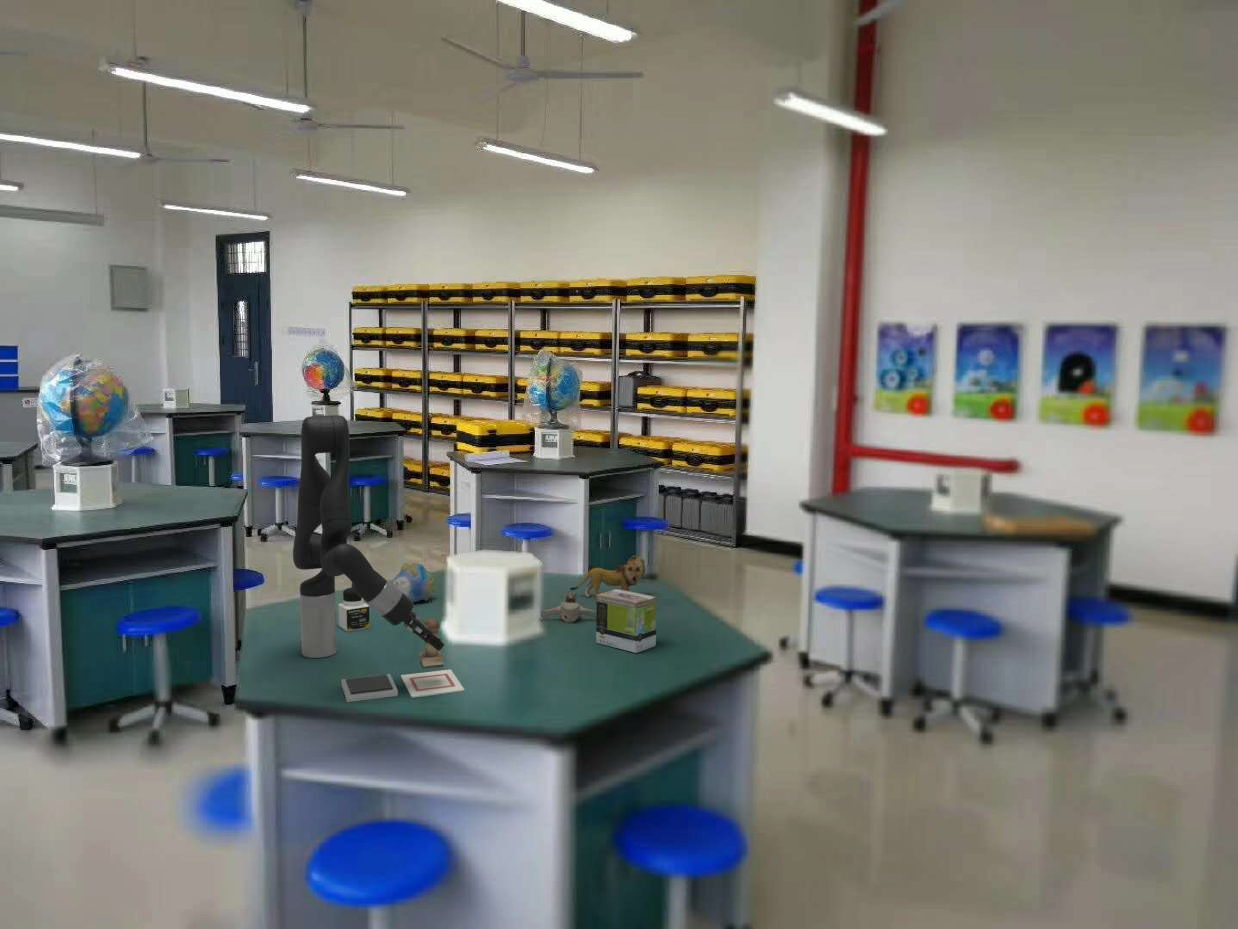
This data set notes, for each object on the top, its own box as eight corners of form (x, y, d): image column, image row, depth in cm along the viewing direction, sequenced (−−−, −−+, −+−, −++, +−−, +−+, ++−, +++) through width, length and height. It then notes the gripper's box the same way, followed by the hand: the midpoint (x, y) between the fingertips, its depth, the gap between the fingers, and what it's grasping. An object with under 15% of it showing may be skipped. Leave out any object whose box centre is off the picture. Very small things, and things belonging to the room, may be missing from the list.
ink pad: (341, 685, 242) (341, 678, 241) (390, 680, 246) (389, 672, 246) (347, 702, 231) (346, 694, 230) (397, 696, 235) (397, 688, 235)
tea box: (657, 646, 277) (658, 596, 275) (635, 654, 269) (636, 603, 267) (616, 635, 286) (617, 587, 284) (594, 643, 278) (595, 593, 276)
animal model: (642, 603, 322) (643, 559, 320) (567, 598, 327) (567, 555, 325) (646, 596, 331) (647, 553, 330) (573, 592, 336) (573, 550, 334)
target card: (401, 676, 249) (400, 675, 249) (450, 671, 253) (450, 669, 253) (411, 697, 234) (411, 695, 234) (464, 691, 239) (464, 689, 239)
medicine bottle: (347, 632, 287) (346, 592, 285) (338, 626, 292) (337, 587, 291) (370, 628, 291) (369, 589, 289) (361, 622, 296) (360, 584, 295)
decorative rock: (396, 561, 313) (439, 559, 320) (384, 566, 326) (425, 564, 333) (398, 603, 311) (441, 599, 318) (386, 606, 324) (428, 603, 331)
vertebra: (602, 607, 310) (602, 583, 305) (603, 629, 301) (603, 604, 296) (539, 608, 309) (538, 583, 304) (537, 630, 300) (536, 605, 295)
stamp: (419, 662, 244) (419, 616, 243) (439, 661, 246) (439, 615, 245) (423, 668, 240) (423, 621, 238) (443, 666, 241) (443, 620, 240)
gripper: (405, 598, 231) (456, 642, 237) (396, 585, 244) (444, 627, 250) (383, 621, 230) (435, 665, 236) (375, 607, 243) (424, 649, 249)
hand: (439, 645), depth 243 cm, fingers closed on stamp, 3 cm apart
